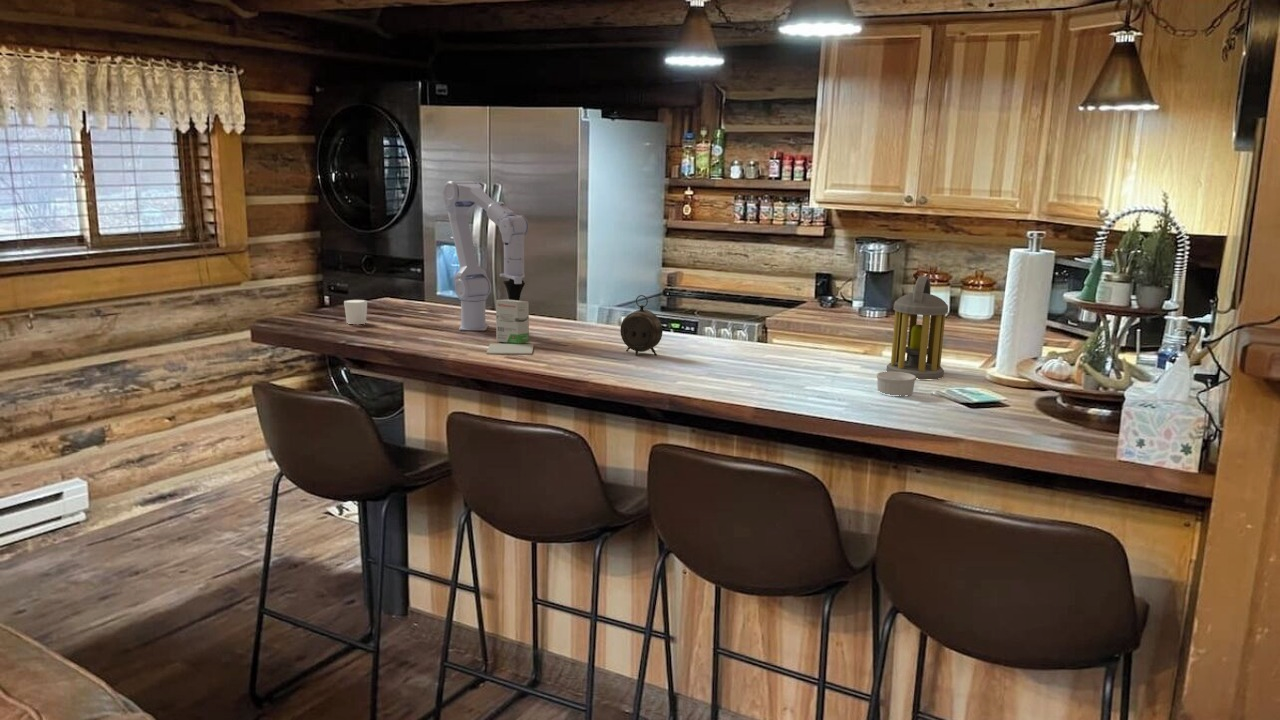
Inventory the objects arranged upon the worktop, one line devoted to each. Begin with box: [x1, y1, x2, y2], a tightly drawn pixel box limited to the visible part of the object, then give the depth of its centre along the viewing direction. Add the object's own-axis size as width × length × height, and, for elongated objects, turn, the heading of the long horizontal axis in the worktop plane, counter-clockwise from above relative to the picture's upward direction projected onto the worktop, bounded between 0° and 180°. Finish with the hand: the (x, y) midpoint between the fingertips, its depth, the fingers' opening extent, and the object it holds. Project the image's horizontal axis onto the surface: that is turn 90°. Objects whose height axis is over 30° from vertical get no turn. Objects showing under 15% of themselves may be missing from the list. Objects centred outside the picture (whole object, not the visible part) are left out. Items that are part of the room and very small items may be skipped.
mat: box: [486, 343, 535, 355], centre depth 259 cm, size 12×12×1 cm
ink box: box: [495, 298, 530, 344], centre depth 268 cm, size 9×5×12 cm, turn 55°
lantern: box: [885, 275, 949, 380], centre depth 241 cm, size 14×14×25 cm
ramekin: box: [876, 371, 917, 396], centre depth 223 cm, size 9×9×4 cm
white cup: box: [343, 299, 368, 325], centre depth 291 cm, size 7×7×7 cm
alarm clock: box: [620, 294, 663, 356], centre depth 256 cm, size 11×5×16 cm, turn 66°
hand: (514, 305), depth 273 cm, fingers closed
